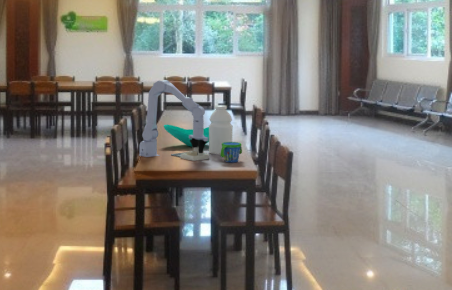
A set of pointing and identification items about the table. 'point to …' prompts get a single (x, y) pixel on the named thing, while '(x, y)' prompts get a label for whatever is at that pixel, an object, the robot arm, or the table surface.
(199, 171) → the table surface
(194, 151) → the cream cube
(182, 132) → the table top decor
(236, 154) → the snack cup
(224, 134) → the bottle
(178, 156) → the parts tray
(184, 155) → the dish
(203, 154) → the light grey cube
